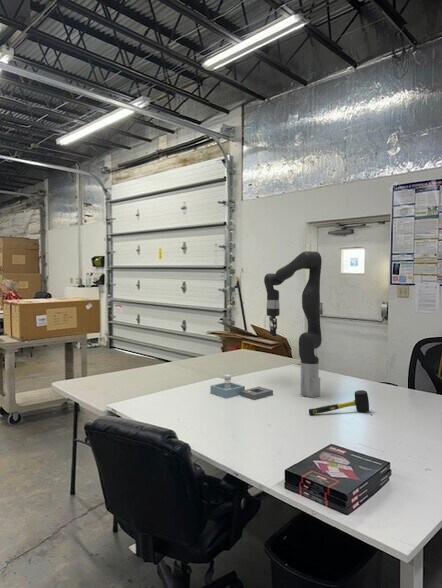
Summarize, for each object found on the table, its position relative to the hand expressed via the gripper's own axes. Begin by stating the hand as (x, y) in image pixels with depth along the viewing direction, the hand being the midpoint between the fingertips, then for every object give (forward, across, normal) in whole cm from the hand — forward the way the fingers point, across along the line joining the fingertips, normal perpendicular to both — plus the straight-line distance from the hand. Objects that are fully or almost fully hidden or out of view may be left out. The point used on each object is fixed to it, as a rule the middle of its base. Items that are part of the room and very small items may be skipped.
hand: (273, 335), depth 240 cm
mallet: (+29, -55, -22) cm, 66 cm away
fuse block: (+28, -26, +12) cm, 40 cm away
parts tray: (+28, -22, +28) cm, 45 cm away
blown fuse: (+27, -22, +28) cm, 44 cm away
